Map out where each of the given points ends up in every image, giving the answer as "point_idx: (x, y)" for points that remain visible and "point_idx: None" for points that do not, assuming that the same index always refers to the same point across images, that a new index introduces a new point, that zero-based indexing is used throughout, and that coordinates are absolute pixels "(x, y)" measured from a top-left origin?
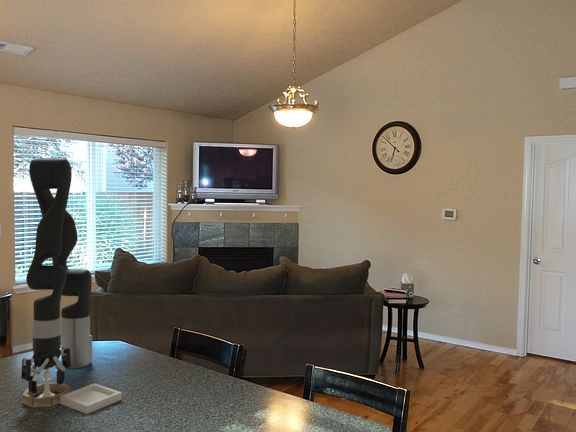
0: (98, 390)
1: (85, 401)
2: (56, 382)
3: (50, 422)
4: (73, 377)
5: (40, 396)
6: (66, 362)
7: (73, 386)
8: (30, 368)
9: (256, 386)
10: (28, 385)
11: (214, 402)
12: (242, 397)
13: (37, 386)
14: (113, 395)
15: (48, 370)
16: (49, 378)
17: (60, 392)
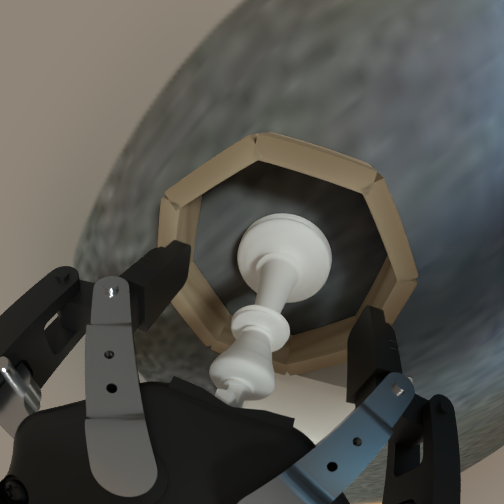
0: None
1: (277, 409)
2: (411, 264)
3: (146, 358)
4: None
5: (252, 246)
6: (393, 462)
7: (457, 287)
8: (43, 380)
9: None
10: (135, 263)
11: (348, 492)
12: (369, 497)
13: (319, 176)
14: None
15: (262, 390)
16: (273, 345)
17: (377, 276)
